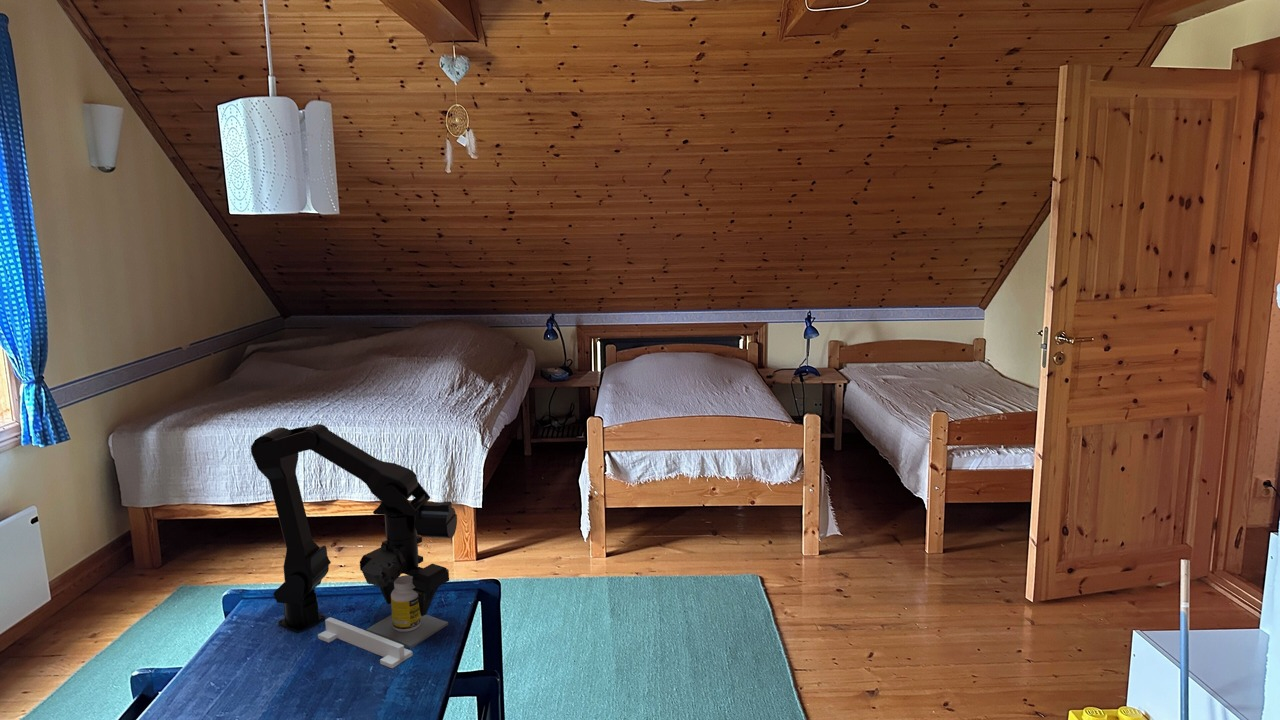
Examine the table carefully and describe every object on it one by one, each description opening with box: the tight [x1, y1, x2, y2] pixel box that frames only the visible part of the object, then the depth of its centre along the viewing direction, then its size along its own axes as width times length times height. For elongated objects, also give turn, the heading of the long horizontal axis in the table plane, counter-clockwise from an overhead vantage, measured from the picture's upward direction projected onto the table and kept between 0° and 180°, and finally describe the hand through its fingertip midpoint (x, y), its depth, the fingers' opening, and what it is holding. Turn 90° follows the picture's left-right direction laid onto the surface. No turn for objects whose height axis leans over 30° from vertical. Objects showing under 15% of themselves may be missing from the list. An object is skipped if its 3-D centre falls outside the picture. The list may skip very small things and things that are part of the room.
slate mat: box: [365, 614, 449, 649], centre depth 161 cm, size 12×10×1 cm
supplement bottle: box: [390, 574, 421, 632], centre depth 160 cm, size 5×5×10 cm
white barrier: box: [317, 617, 413, 669], centre depth 154 cm, size 20×5×3 cm, turn 60°
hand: (406, 609), depth 160 cm, fingers open, 9 cm apart
